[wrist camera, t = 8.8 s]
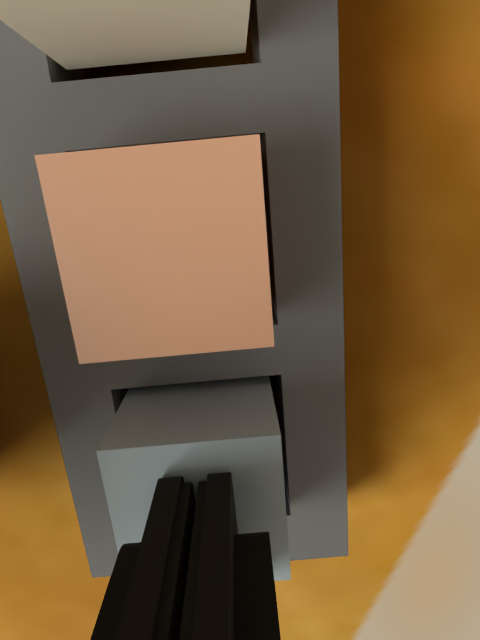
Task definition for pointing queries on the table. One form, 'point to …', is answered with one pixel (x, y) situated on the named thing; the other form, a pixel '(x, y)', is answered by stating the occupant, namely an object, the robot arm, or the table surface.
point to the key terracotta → (161, 247)
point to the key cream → (129, 29)
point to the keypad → (282, 240)
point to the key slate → (198, 454)
